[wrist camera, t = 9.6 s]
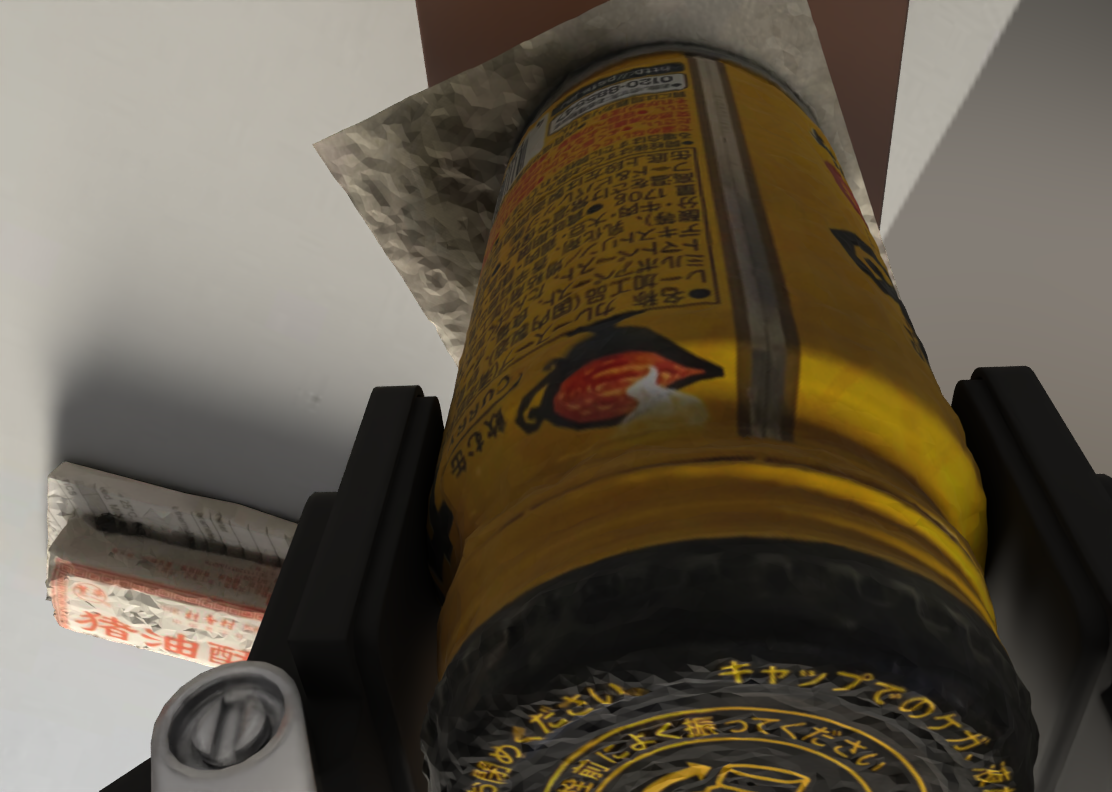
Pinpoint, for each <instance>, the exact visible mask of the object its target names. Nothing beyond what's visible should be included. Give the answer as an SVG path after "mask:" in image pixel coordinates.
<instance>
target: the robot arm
mask: <svg viewBox="0 0 1112 792" xmlns="http://www.w3.org/2000/svg"><path fill="white" fill-rule="evenodd" d="M951 407H952V409H953V411H954V412H955V413H956V414H957V416H958V417H959V420H960V422H961V425H962V427H963V430H964V432H965V438H966V446H967V448H968V449H969V450H970V452H971V453H972V455H973V458H974V460H975V462H976V464H977V466H978V468H979V470H980V475H981V481H982V486H983V490H984V493H985V496H986V502H987V510H986V515H987V525H988V536H987V538H988V547H987V554H986V561H985V571H984V579H985V582H986V585H987V588H988V591H989V595H990V598H991V602H992V605H993V609H994V614H995V618H996V624H997V634H998V636H999V639H1000V642H1001V643H1002V645H1003V646H1004V647H1005V649H1006V651H1007V653H1008V655H1009V658H1010V660H1011V662H1012V664H1013V667H1014V670H1015V671H1016V673H1017V675H1018V676H1019V678H1020V679H1021V681H1022V682H1023V684H1024V685H1025V687H1026V688H1027V689H1028V691H1029V692H1030V696H1031V711H1032V714H1033V716H1034V719H1035V721H1036V724H1037V727H1038V730H1039V734H1040V737H1039V744H1038V755H1037V759H1036V763H1035V765H1034V769H1033V776H1034V792H1112V478H1111V477H1109V476H1107V475H1105V474H1095V472H1094V470H1093V469H1092V467H1091V465H1090V464H1089V462H1088V461H1087V459H1086V457H1085V456H1084V454H1083V452H1082V451H1081V449H1080V447H1079V446H1078V444H1077V442H1076V441H1075V439H1074V437H1073V436H1072V434H1071V432H1070V431H1069V429H1068V428H1067V426H1066V424H1065V423H1064V421H1063V419H1062V418H1061V416H1060V414H1059V413H1058V411H1057V409H1056V408H1055V406H1054V404H1053V403H1052V401H1051V400H1050V398H1049V396H1048V395H1047V393H1046V391H1045V390H1044V388H1043V386H1042V385H1041V383H1040V381H1039V380H1038V378H1037V377H1036V375H1035V373H1034V372H1033V371H1032V370H1031V368H1029V367H1027V366H1010V367H979V368H977V369H975V370H974V372H973V374H972V376H971V379H970V380H960V381H958V383H957V384H956V387H955V390H954V395H953V399H952V404H951ZM443 432H444V425H443V420H442V414H441V408H440V404H439V400H438V398H437V397H436V396H433V397H424V393H423V391H422V388H421V387H420V386H419V385H414V386H383V387H375V388H374V389H373V391H372V393H371V395H370V398H369V401H368V404H367V407H366V410H365V413H364V416H363V419H362V422H361V425H360V428H359V431H358V434H357V437H356V440H355V442H354V445H353V448H352V451H351V454H350V457H349V460H348V463H347V466H346V469H345V472H344V475H343V478H342V481H341V484H340V487H339V489H338V492H315V493H313V494H312V495H311V496H310V497H309V499H308V501H307V502H306V504H305V507H304V509H303V512H302V515H301V517H300V520H299V523H298V525H297V528H296V531H295V533H294V536H293V539H292V541H291V544H290V547H289V549H288V552H287V555H286V557H285V560H284V563H283V565H282V568H281V571H280V573H279V576H278V579H277V581H276V584H275V587H274V589H273V592H272V595H271V597H270V600H269V603H268V605H267V608H266V611H265V613H264V616H263V619H262V621H261V624H260V627H259V629H258V632H257V635H256V637H255V640H254V643H253V645H252V648H251V651H250V653H249V656H248V659H247V661H246V660H244V661H238V662H233V663H227V664H222V665H220V666H217V667H215V668H213V669H210V670H208V671H206V672H203V673H201V674H199V675H198V676H196V677H195V678H193V679H192V680H191V681H189V682H188V683H186V684H185V685H183V686H182V687H181V688H180V689H179V690H178V691H177V692H176V693H175V694H174V695H173V696H172V697H171V698H170V699H169V701H168V702H167V703H166V704H165V705H164V707H163V709H162V711H161V712H160V714H159V716H158V718H157V720H156V722H155V724H154V729H153V734H152V740H151V758H149V759H147V760H146V761H144V762H143V763H141V764H140V765H138V766H137V767H135V768H134V769H132V770H131V771H129V772H128V773H126V774H125V775H123V776H122V777H120V778H119V779H117V780H116V781H114V782H113V783H111V784H110V785H108V786H106V787H105V788H103V789H102V790H100V791H99V792H428V781H427V779H426V777H425V776H424V774H423V772H422V768H423V762H424V755H425V754H424V753H423V752H422V750H421V749H420V741H421V739H420V732H421V728H422V724H423V720H424V717H425V715H426V713H427V712H428V708H427V704H428V702H429V701H430V700H431V698H432V697H433V696H434V691H435V687H436V685H437V684H438V683H439V681H438V674H437V638H436V635H437V623H438V619H439V615H440V611H441V607H440V605H439V603H438V601H437V597H436V592H435V587H434V582H433V580H432V577H431V574H430V571H429V567H428V548H427V529H426V524H427V514H428V496H429V493H430V490H431V487H432V484H433V480H434V475H435V470H436V465H437V460H438V456H439V452H440V448H441V443H442V438H443Z"/></svg>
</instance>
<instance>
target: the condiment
mask: <svg viewBox="0 0 1112 792" xmlns="http://www.w3.org/2000/svg"><path fill="white" fill-rule="evenodd" d="M312 145H313V146H314V148H315V149H316V151H317V152H318V154H319V155H320V157H321V158H322V160H323V161H324V162H325V164H326V165H327V167H328V169H329V170H330V172H331V174H332V175H333V177H334V178H335V179H336V180H337V182H338V183H339V184H340V185H341V186H342V188H343V189H344V190H345V191H346V193H347V194H348V196H349V197H350V199H351V201H352V203H353V204H354V206H355V207H356V209H357V210H358V212H359V213H360V215H361V216H362V217H363V219H364V220H365V222H366V224H367V225H368V227H369V228H370V229H371V231H372V233H373V234H374V236H375V238H376V239H377V241H378V243H379V244H380V245H381V247H382V248H383V250H384V251H385V253H386V255H387V256H388V257H389V259H390V260H391V262H392V263H393V264H394V266H395V267H396V269H397V270H398V272H399V273H400V275H401V276H402V278H403V279H404V281H405V283H406V284H407V286H408V288H409V289H410V291H411V292H412V294H413V296H414V297H415V299H416V301H417V302H418V304H419V305H420V307H421V309H422V310H423V312H424V313H425V315H426V316H427V318H428V319H429V320H430V321H431V322H432V323H434V325H435V326H436V329H437V332H438V334H439V336H440V338H441V339H442V341H443V343H444V345H445V347H446V349H447V350H448V352H449V353H450V355H451V356H452V358H453V359H454V362H455V363H456V365H457V367H458V374H457V379H456V384H455V389H454V394H453V398H452V402H451V405H450V410H449V414H448V418H447V422H446V426H445V429H444V432H443V438H442V443H441V448H440V452H439V456H438V460H437V465H436V470H435V475H434V480H433V484H432V487H431V490H430V493H429V496H428V514H427V524H426V529H427V548H428V567H429V571H430V574H431V577H432V580H433V582H434V587H435V592H436V597H437V601H438V603H439V605H440V607H441V611H440V615H439V619H438V623H437V635H436V638H437V674H438V681H439V683H438V684H437V685H436V687H435V691H434V696H433V697H432V698H431V700H430V701H429V702H428V704H427V708H428V712H427V713H426V715H425V717H424V720H423V724H422V728H421V732H420V739H421V741H420V749H421V750H422V752H423V753H424V754H425V755H424V762H423V768H422V772H423V774H424V776H425V777H426V779H427V781H428V792H1034V776H1033V769H1034V765H1035V763H1036V759H1037V755H1038V744H1039V737H1040V734H1039V730H1038V727H1037V724H1036V721H1035V719H1034V716H1033V714H1032V711H1031V696H1030V692H1029V691H1028V689H1027V688H1026V687H1025V685H1024V684H1023V682H1022V681H1021V679H1020V678H1019V676H1018V675H1017V673H1016V671H1015V670H1014V667H1013V664H1012V662H1011V660H1010V658H1009V655H1008V653H1007V651H1006V649H1005V647H1004V646H1003V645H1002V643H1001V642H1000V639H999V636H998V634H997V624H996V618H995V614H994V609H993V605H992V602H991V598H990V595H989V591H988V588H987V585H986V582H985V579H984V571H985V561H986V554H987V547H988V538H987V536H988V525H987V515H986V510H987V502H986V496H985V493H984V490H983V486H982V481H981V475H980V470H979V468H978V466H977V464H976V462H975V460H974V458H973V455H972V453H971V452H970V450H969V449H968V448H967V446H966V438H965V432H964V430H963V427H962V425H961V422H960V420H959V417H958V416H957V414H956V413H955V412H954V411H953V409H952V407H951V406H950V405H949V403H948V402H947V401H946V399H945V398H944V397H943V395H942V393H941V390H940V387H939V385H938V384H937V382H936V379H935V377H934V375H933V372H932V370H931V368H930V365H929V362H928V357H927V354H926V351H925V349H924V347H923V344H922V343H921V341H920V339H919V338H918V336H917V335H916V333H915V330H914V328H913V325H912V323H911V320H910V319H909V316H908V313H907V311H906V309H905V307H904V305H903V303H902V301H901V298H900V296H899V292H898V290H897V286H896V283H895V279H894V276H893V273H892V270H891V267H890V264H889V260H888V257H887V254H886V249H885V247H884V245H883V242H882V238H881V235H880V232H879V229H878V226H877V222H876V220H875V217H874V214H873V210H872V207H871V204H870V201H869V198H868V194H867V191H866V188H865V185H864V181H863V178H862V175H861V171H860V169H859V166H858V162H857V159H856V156H855V153H854V150H853V147H852V144H851V140H850V137H849V134H848V131H847V127H846V124H845V121H844V118H843V115H842V111H841V108H840V105H839V102H838V99H837V95H836V92H835V89H834V86H833V83H832V80H831V76H830V73H829V70H828V67H827V63H826V60H825V57H824V54H823V51H822V47H821V44H820V41H819V37H818V33H817V29H816V27H815V24H814V22H813V19H812V16H811V11H810V8H809V5H808V2H807V0H610V1H607V2H606V3H603V4H601V5H599V6H597V7H594V8H592V9H590V10H589V11H587V12H585V13H583V14H581V15H580V16H578V17H576V18H574V19H571V20H568V21H566V22H564V23H562V24H560V25H558V26H556V27H554V28H552V29H550V30H548V31H546V32H544V33H542V34H540V35H538V36H536V37H534V38H532V39H530V40H528V41H524V42H522V43H521V44H519V45H517V46H515V47H513V48H511V49H510V50H508V51H506V52H504V53H502V54H501V55H499V56H497V57H495V58H493V59H491V60H489V61H487V62H485V63H483V64H481V65H479V66H477V67H475V68H472V69H469V70H466V71H464V72H462V73H459V74H457V75H455V76H453V77H451V78H449V79H447V80H445V81H443V82H441V83H439V84H436V85H434V86H432V87H430V88H428V89H425V90H423V91H421V92H419V93H417V94H414V95H412V96H409V97H408V98H406V99H404V100H402V101H401V102H398V103H396V104H394V105H392V106H390V107H389V108H387V109H385V110H383V111H381V112H379V113H377V114H376V115H374V116H372V117H370V118H368V119H366V120H364V121H362V122H360V123H358V124H355V125H353V126H351V127H349V128H346V129H344V130H342V131H340V132H338V133H336V134H334V135H331V136H329V137H327V138H325V139H323V140H321V141H319V142H317V143H315V144H312Z"/></svg>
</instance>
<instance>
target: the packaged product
mask: <svg viewBox="0 0 1112 792" xmlns="http://www.w3.org/2000/svg"><path fill="white" fill-rule="evenodd" d="M47 499H48V511H47V524H48V547H47V580H46V582H45V583H46V586H47V599H46V600H50V601H52V604H53V607H54V609H55V611H54V617H55V619H56V620H57V622H58V623H59V625H60V626H61V627H64V628H67V629H70V630H73V631H75V632H80V633H84V634H87V635H92V636H95V637H98V638H102V639H106V640H110V641H113V642H118V643H124V644H127V645H131V646H136V647H137V648H140V649H147V650H150V651H153V652H157V653H161V654H165V655H169V656H173V657H177V658H181V659H185V660H188V661H192V662H197V663H199V664H202V665H206V666H211V667H217V666H220V665H222V664H227V663H233V662H238V661H244V660H246V661H247V659H248V656H249V653H250V651H251V648H252V645H253V643H254V640H255V637H256V635H257V632H258V629H259V627H260V624H261V621H262V619H263V616H264V613H265V611H266V608H267V605H268V603H269V600H270V597H271V595H272V592H273V589H274V587H275V584H276V581H277V579H278V576H279V573H280V571H281V568H282V565H283V563H284V560H285V557H286V555H287V552H288V549H289V547H290V544H291V541H292V539H293V536H294V533H295V531H296V528H297V525H298V524H296V523H293V522H290V521H287V520H284V519H281V518H278V517H275V516H272V515H269V514H266V513H263V512H260V511H257V510H255V509H252V508H249V507H246V506H243V505H240V504H236V503H231V502H226V501H221V500H216V499H211V498H206V497H201V496H196V495H191V494H186V493H182V492H178V491H175V490H171V489H167V488H163V487H160V486H156V485H152V484H148V483H145V482H141V481H137V480H133V479H130V478H126V477H122V476H118V475H114V474H111V473H107V472H103V471H99V470H96V469H92V468H88V467H84V466H81V465H77V464H73V463H69V462H66V461H64V462H63V463H62V464H61V465H60V466H58V467H57V468H56V469H55V470H54V471H53V472H52V473H50V474H49V475H48V493H47Z"/></svg>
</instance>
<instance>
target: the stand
mask: <svg viewBox="0 0 1112 792" xmlns="http://www.w3.org/2000/svg"><path fill="white" fill-rule="evenodd" d="M415 1H416V8H417V14H418V21H419V28H420V34H421V41H422V48H423V54H424V61H425V68H426V74H427V81H428V88H430V87H432V86H434V85H436V84H439V83H441V82H443V81H445V80H447V79H449V78H451V77H453V76H455V75H457V74H459V73H462V72H464V71H466V70H469V69H472V68H475V67H477V66H479V65H481V64H483V63H485V62H487V61H489V60H491V59H493V58H495V57H497V56H499V55H501V54H502V53H504V52H506V51H508V50H510V49H511V48H513V47H515V46H517V45H519V44H521V43H522V42H524V41H528V40H530V39H532V38H534V37H536V36H538V35H540V34H542V33H544V32H546V31H548V30H550V29H552V28H554V27H556V26H558V25H560V24H562V23H564V22H566V21H568V20H571V19H574V18H576V17H578V16H580V15H581V14H583V13H585V12H587V11H589V10H590V9H592V8H594V7H597V6H599V5H601V4H603V3H606V2H607V1H610V0H415ZM807 2H808V5H809V8H810V11H811V16H812V19H813V22H814V24H815V27H816V29H817V33H818V37H819V41H820V44H821V47H822V51H823V54H824V57H825V60H826V63H827V67H828V70H829V73H830V76H831V80H832V83H833V86H834V89H835V92H836V95H837V99H838V102H839V105H840V108H841V111H842V115H843V118H844V121H845V124H846V127H847V131H848V134H849V137H850V140H851V144H852V147H853V150H854V153H855V156H856V159H857V162H858V166H859V169H860V171H861V175H862V178H863V181H864V185H865V188H866V191H867V194H868V198H869V201H870V204H871V207H872V210H873V214H874V217H875V220H876V222H877V226H878V229H879V230H880V223H881V215H882V207H883V200H884V192H885V184H886V177H887V169H888V161H889V153H890V146H891V138H892V130H893V123H894V115H895V107H896V99H897V92H898V84H899V76H900V69H901V61H902V53H903V46H904V38H905V30H906V22H907V15H908V7H909V0H807Z"/></svg>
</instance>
